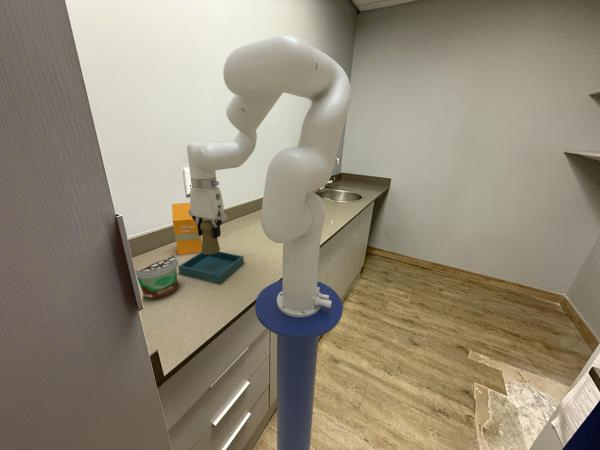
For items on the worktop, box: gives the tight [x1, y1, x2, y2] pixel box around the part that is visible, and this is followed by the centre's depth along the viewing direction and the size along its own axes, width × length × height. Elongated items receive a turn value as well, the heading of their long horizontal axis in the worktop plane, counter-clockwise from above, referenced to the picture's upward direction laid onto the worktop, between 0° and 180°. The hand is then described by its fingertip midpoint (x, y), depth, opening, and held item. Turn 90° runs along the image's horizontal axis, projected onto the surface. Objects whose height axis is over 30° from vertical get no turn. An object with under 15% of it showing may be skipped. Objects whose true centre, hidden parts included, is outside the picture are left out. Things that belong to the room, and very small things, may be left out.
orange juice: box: [171, 202, 202, 256], centre depth 97 cm, size 8×9×20 cm
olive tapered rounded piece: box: [200, 219, 221, 255], centre depth 83 cm, size 6×6×11 cm
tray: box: [177, 250, 245, 285], centre depth 87 cm, size 17×15×3 cm
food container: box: [134, 253, 179, 300], centre depth 72 cm, size 12×6×10 cm, turn 151°
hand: (209, 235), depth 83 cm, fingers closed on olive tapered rounded piece, 5 cm apart
